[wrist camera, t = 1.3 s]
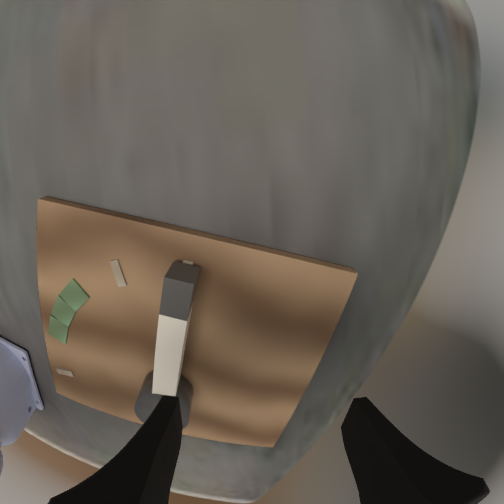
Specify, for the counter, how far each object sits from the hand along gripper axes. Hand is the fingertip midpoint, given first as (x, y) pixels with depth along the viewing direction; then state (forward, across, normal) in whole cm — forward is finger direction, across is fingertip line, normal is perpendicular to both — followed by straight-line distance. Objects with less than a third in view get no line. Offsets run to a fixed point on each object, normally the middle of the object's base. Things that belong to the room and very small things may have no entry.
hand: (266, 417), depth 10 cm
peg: (+8, +6, +3) cm, 10 cm away
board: (+9, +6, +4) cm, 12 cm away
